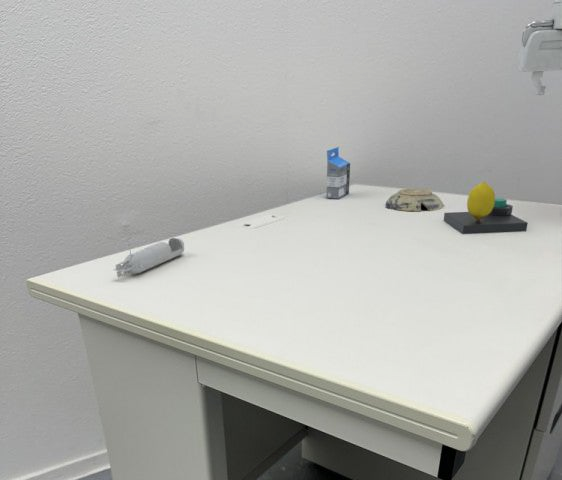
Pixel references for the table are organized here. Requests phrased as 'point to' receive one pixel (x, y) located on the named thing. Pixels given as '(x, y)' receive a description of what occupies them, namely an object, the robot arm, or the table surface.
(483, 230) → the dark grey button base
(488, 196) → the lemon
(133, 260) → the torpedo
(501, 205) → the scale button
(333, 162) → the ink cartridge box
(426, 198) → the decorative bowl
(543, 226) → the table surface
